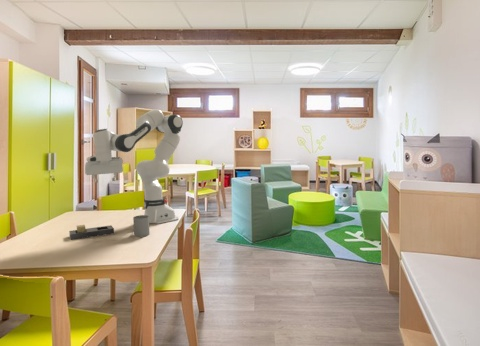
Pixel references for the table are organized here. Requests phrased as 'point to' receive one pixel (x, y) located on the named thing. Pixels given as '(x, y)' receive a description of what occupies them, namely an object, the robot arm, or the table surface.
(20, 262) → the table surface
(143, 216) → the cup
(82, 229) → the block
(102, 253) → the table surface
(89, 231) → the rail
